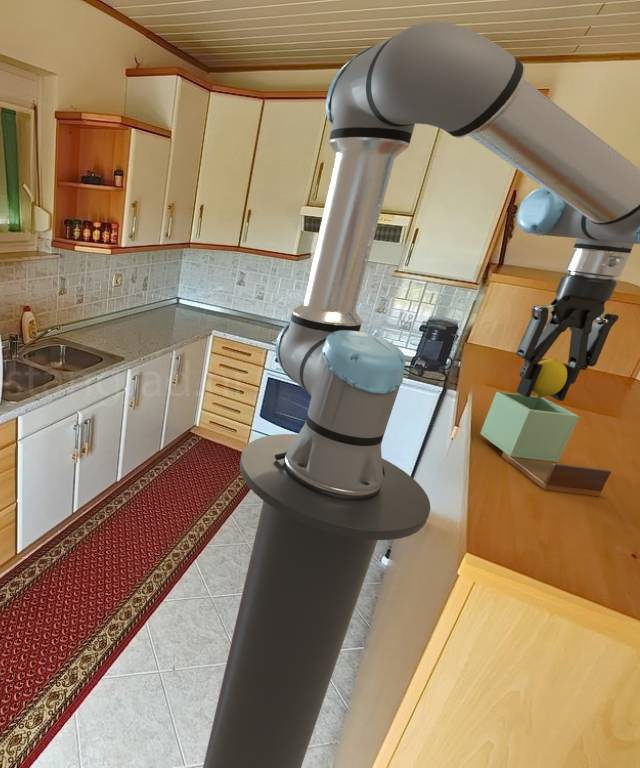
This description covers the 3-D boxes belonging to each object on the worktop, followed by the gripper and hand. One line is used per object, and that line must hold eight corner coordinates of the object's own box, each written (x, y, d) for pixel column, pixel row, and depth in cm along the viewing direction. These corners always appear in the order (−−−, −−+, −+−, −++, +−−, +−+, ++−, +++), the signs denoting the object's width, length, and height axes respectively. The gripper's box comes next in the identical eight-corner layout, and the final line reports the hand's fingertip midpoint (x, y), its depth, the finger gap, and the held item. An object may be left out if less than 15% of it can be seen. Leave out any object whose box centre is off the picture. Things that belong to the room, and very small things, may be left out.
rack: (598, 496, 85) (611, 471, 83) (544, 489, 85) (555, 464, 83) (549, 462, 96) (559, 439, 94) (501, 456, 96) (510, 433, 95)
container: (558, 462, 94) (579, 416, 90) (510, 456, 94) (529, 410, 91) (523, 439, 103) (541, 396, 100) (479, 433, 103) (496, 391, 100)
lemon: (518, 395, 95) (534, 356, 92) (524, 390, 98) (540, 352, 95) (554, 405, 91) (572, 364, 88) (558, 399, 95) (576, 360, 92)
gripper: (551, 273, 83) (502, 397, 92) (665, 284, 82) (604, 409, 91) (522, 267, 90) (478, 384, 99) (626, 278, 89) (574, 394, 98)
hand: (539, 396), depth 95 cm, fingers closed on lemon, 5 cm apart
